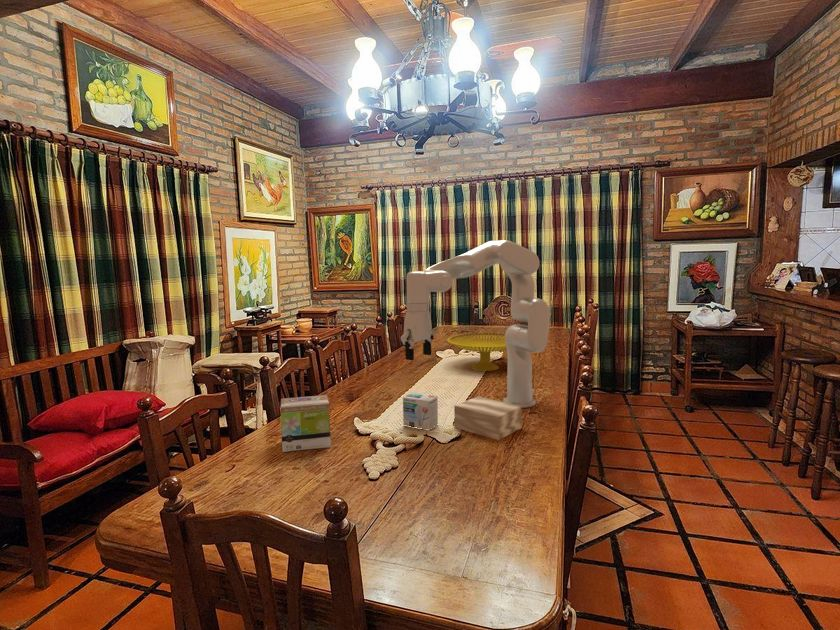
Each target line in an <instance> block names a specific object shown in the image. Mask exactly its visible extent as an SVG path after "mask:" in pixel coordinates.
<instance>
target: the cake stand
mask: <svg viewBox="0 0 840 630" xmlns="http://www.w3.org/2000/svg"><path fill="white" fill-rule="evenodd" d="M445 341H446V342H447V343H448V344H451V345H453V346H455V347H457V348H459V349H460V350H464V351H471V352H478V353H479V362H478V363H477V362H476V363H475V364H473V365H472V366H471V369H472V368H474V369H473V370H475V369H477V370H476V371H480V370H487V371H486V372H488V371H489V372H490V371H496V370H499V368H500V366H499V365H496V364H495V363H493V362H491V353H492V352H502V351H507V347H506V342H505V333H496V332H477V333H475V332H472V333H462V334H457V335H452V336H450V337H449V336H448V337H447V338H446V340H445Z"/></svg>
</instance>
